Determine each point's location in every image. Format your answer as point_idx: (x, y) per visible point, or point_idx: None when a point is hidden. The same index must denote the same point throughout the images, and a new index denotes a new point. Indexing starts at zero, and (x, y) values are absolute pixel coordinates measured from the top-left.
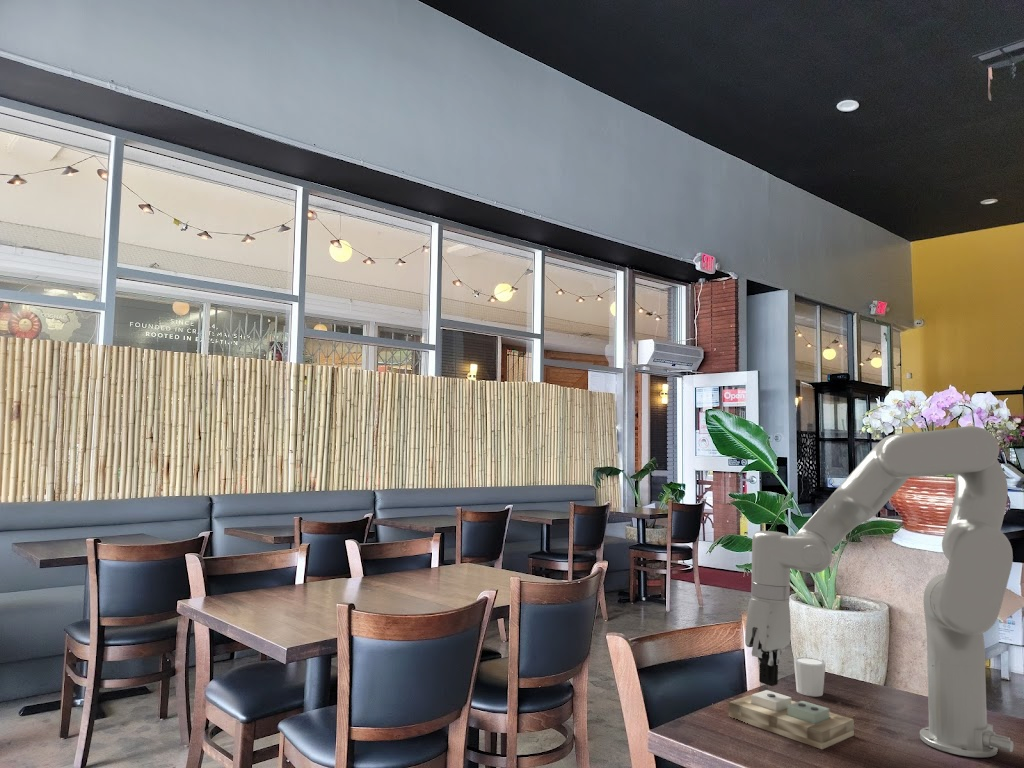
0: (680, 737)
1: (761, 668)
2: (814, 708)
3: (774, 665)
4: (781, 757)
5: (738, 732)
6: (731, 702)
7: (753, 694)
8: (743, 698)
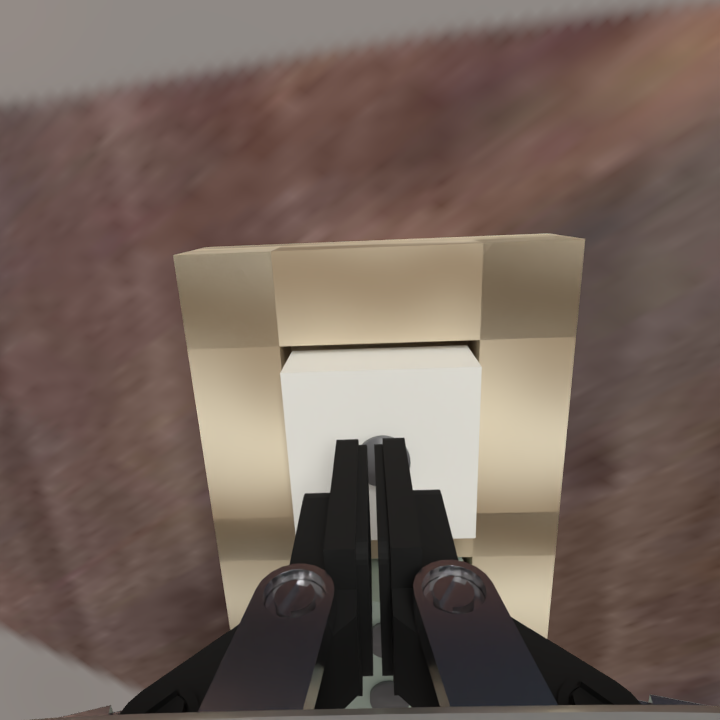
0: None
1: (292, 554)
2: (384, 702)
3: (391, 670)
4: (54, 637)
5: (87, 409)
6: (182, 274)
7: (299, 378)
8: (327, 265)
